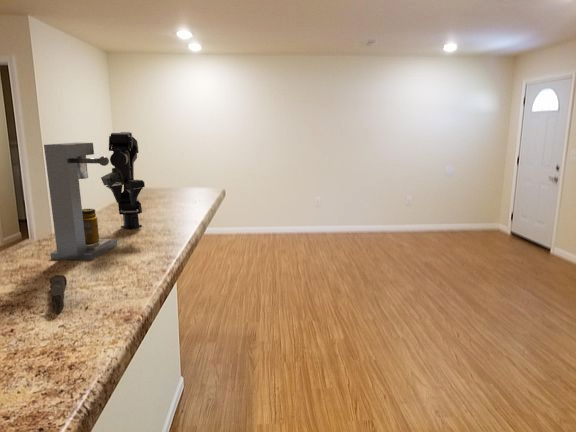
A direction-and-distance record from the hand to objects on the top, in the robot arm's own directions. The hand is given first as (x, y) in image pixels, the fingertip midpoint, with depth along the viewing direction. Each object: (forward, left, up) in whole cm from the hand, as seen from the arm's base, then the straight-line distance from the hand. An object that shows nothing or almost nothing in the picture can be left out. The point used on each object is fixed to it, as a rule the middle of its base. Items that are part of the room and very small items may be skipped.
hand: (125, 203), depth 162 cm
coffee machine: (+11, -21, -13) cm, 27 cm away
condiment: (+6, -20, -11) cm, 24 cm away
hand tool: (+39, -49, -14) cm, 64 cm away
